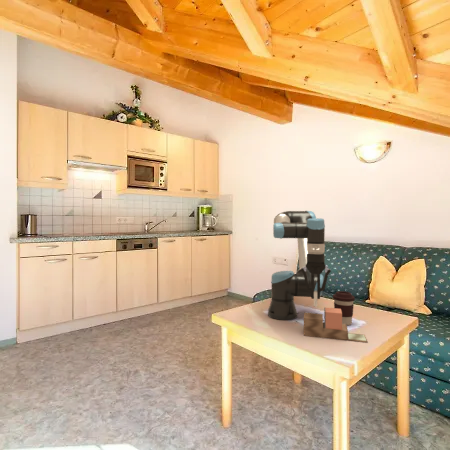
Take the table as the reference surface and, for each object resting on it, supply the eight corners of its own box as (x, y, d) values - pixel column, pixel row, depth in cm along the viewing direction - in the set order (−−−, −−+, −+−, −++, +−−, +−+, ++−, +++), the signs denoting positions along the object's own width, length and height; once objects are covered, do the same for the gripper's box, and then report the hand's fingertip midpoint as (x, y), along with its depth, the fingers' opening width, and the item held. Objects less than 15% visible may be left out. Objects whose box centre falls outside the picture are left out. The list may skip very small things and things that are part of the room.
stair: (303, 335, 129) (303, 317, 129) (304, 329, 136) (304, 312, 136) (367, 342, 121) (367, 323, 121) (364, 335, 129) (364, 317, 129)
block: (324, 312, 126) (342, 313, 124) (324, 307, 133) (340, 308, 131) (324, 328, 126) (342, 329, 124) (324, 322, 133) (340, 324, 131)
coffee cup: (352, 320, 148) (352, 290, 148) (356, 327, 138) (356, 295, 138) (331, 319, 150) (331, 289, 150) (334, 325, 141) (334, 294, 140)
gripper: (300, 253, 129) (300, 307, 129) (331, 254, 125) (331, 309, 125) (301, 251, 136) (301, 302, 136) (330, 252, 132) (330, 304, 133)
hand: (315, 305), depth 131 cm, fingers closed
